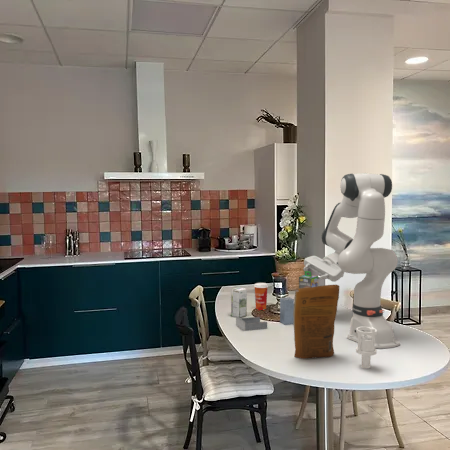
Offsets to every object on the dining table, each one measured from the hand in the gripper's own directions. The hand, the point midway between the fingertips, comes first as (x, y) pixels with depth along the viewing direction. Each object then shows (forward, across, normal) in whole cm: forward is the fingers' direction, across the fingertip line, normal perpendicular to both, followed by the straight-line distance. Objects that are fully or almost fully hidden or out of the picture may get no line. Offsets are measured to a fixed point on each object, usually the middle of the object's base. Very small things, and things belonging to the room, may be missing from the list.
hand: (311, 273), depth 214 cm
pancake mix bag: (+38, +37, +3) cm, 53 cm away
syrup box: (+28, -22, +26) cm, 44 cm away
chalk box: (-35, -30, +47) cm, 66 cm away
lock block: (+17, +1, +21) cm, 27 cm away
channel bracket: (+33, -5, +18) cm, 38 cm away
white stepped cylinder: (+31, +54, -1) cm, 62 cm away
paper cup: (+11, -24, +32) cm, 41 cm away
